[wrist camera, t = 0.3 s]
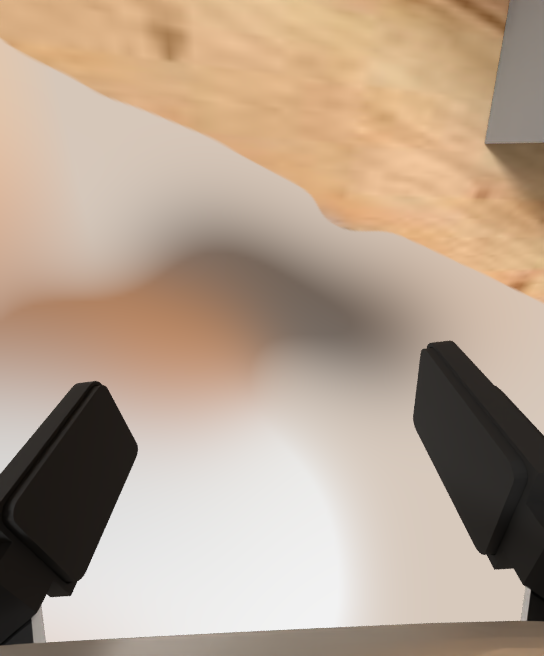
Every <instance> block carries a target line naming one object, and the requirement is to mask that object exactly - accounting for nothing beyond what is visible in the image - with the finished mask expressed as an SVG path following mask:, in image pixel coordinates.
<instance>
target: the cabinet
mask: <svg viewBox="0 0 544 656" xmlns="http://www.w3.org/2000/svg"><path fill="white" fill-rule="evenodd" d="M489 143H544V0H510V3H509V9H508V14H507V20H506V26H505V31H504V37H503V43H502V48H501V54H500V60H499V65H498V71H497V77H496V82H495V88H494V94H493V100H492V105H491V111H490V117H489V122H488V128H487V134H486V139H485V144H489Z"/></svg>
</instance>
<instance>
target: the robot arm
mask: <svg viewBox="0 0 544 656" xmlns="http://www.w3.org/2000/svg"><path fill="white" fill-rule="evenodd" d="M413 421H414V425H415V428H416V431H417V433H418V434H419V437H420V438H421V440H422V442H423V444H424V446H425V448H426V450H427V452H428V454H429V456H430V458H431V460H432V462H433V464H434V466H435V468H436V470H437V472H438V474H439V476H440V478H441V480H442V482H443V484H444V486H445V488H446V490H447V492H448V493H449V496H450V498H451V499H452V502H453V504H454V505H455V507H456V510H457V512H458V514H459V516H460V518H461V520H462V522H463V523H464V525H465V528H466V529H467V531H468V533H469V535H470V537H471V539H472V541H473V543H474V545H475V547H476V549H477V550H478V551H479V553H481V554H483V555H485V554H487V556H488V558H489V560H490V562H491V564H492V566H493V568H494V569H511V568H514V570H515V571H516V573H517V575H518V577H519V578H520V580H521V582H522V584H523V585H524V586H526V589H525V595H524V602H523V608H522V616H521V621H503V622H502V621H498V622H463V623H462V622H460V623H459V622H458V623H426V624H425V623H424V624H403V625H380V626H358V627H338V628H337V627H336V628H314V629H294V630H273V631H253V632H233V633H213V634H195V635H176V636H155V637H138V638H137V637H136V638H119V639H101V640H83V641H66V642H48V643H46V640H45V632H44V623H43V615H42V607H41V604H42V602H43V600H44V598H45V596H46V594H47V595H49V596H50V597H60V596H71V594H72V592H73V590H74V587H75V585H76V583H77V581H79V580H80V579H81V578H82V577H83V576H84V574H85V572H86V570H87V568H88V566H89V563H90V561H91V559H92V557H93V554H94V552H95V550H96V548H97V545H98V543H99V541H100V538H101V536H102V534H103V532H104V529H105V527H106V525H107V523H108V520H109V518H110V516H111V513H112V511H113V509H114V507H115V504H116V502H117V500H118V497H119V495H120V493H121V491H122V488H123V486H124V484H125V481H126V479H127V477H128V475H129V472H130V470H131V468H132V466H133V463H134V461H135V458H136V456H137V452H138V446H137V443H136V441H135V439H134V437H133V436H132V434H131V432H130V430H129V428H128V426H127V424H126V422H125V420H124V419H123V417H122V415H121V413H120V411H119V409H118V407H117V406H116V404H115V402H114V400H113V398H112V396H111V394H110V392H109V390H108V389H107V387H106V386H104V385H102V384H101V383H100V382H97V381H93V382H85V383H78V384H75V385H74V386H73V387H72V388H71V390H70V391H69V392H68V393H67V394H66V396H65V397H64V398H63V399H62V400H61V402H60V403H59V404H58V405H57V407H56V408H55V409H54V410H53V411H52V412H51V414H50V415H49V416H48V418H47V419H46V420H45V421H44V422H43V423H42V425H41V426H40V427H39V428H38V429H37V431H36V432H35V433H34V434H33V435H32V437H31V438H30V439H29V440H28V441H27V443H26V444H25V445H24V446H23V447H22V449H21V450H20V451H19V452H18V453H17V455H16V456H15V457H14V458H13V460H12V461H11V462H10V463H9V464H8V466H7V467H6V468H5V469H4V470H3V472H2V473H1V474H0V656H544V436H543V434H542V433H541V432H540V431H539V430H538V429H537V428H536V427H535V426H534V425H533V424H532V423H531V422H530V421H529V419H528V418H527V417H526V416H525V415H524V414H523V413H522V412H521V411H520V410H519V409H518V408H517V407H516V406H515V405H514V403H513V402H512V401H511V400H510V399H509V398H508V397H507V396H506V395H505V394H504V393H503V392H502V391H501V390H500V389H499V388H498V387H497V386H494V385H493V384H492V383H491V382H490V380H489V379H488V378H487V377H486V376H485V375H484V374H483V373H482V372H481V371H480V370H479V369H478V368H477V366H475V364H474V363H473V362H472V361H471V360H470V359H469V358H468V357H467V356H466V355H465V353H464V352H462V350H461V349H460V348H459V347H458V346H457V345H456V344H455V343H454V342H453V341H443V342H435V343H430V344H428V346H427V349H422V351H421V356H420V364H419V373H418V381H417V390H416V398H415V406H414V414H413Z"/></svg>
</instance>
